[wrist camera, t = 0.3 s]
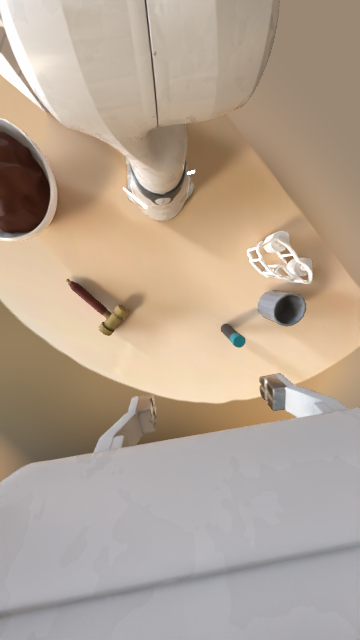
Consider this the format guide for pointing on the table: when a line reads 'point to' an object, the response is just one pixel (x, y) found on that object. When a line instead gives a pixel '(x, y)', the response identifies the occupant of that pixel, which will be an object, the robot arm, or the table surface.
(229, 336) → the marker pen
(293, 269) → the white cage
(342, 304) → the table surface
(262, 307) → the pen pot
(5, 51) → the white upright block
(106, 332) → the gavel
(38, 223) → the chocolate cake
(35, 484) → the robot arm
